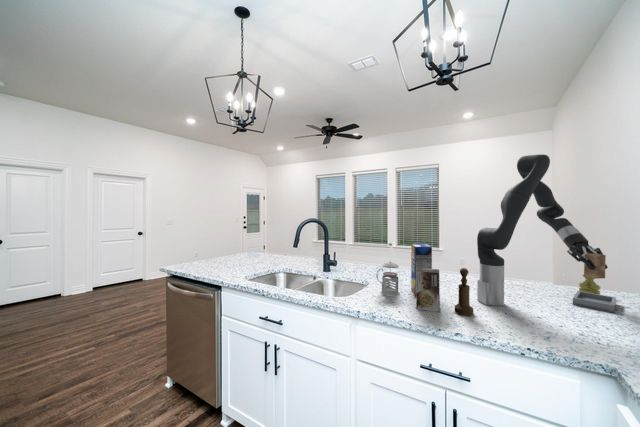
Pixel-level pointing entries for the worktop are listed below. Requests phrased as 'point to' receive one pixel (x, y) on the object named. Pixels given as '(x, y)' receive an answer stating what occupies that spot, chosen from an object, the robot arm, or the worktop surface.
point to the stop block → (600, 266)
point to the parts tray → (595, 301)
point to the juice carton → (419, 261)
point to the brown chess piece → (464, 296)
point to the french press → (394, 278)
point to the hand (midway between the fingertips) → (599, 268)
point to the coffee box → (427, 289)
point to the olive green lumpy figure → (589, 286)
